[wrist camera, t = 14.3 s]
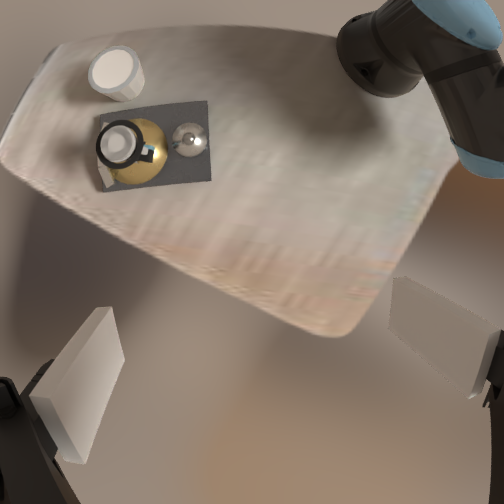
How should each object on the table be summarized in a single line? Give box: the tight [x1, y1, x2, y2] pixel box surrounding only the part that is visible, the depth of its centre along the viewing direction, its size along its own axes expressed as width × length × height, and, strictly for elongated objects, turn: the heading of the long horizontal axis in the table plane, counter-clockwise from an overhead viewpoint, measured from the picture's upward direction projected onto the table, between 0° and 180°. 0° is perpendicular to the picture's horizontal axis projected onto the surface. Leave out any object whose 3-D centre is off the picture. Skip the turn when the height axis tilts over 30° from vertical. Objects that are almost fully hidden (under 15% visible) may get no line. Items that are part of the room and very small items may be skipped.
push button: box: [96, 120, 155, 169], centre depth 33 cm, size 7×5×10 cm
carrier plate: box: [97, 101, 211, 192], centre depth 37 cm, size 15×11×4 cm
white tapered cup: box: [88, 45, 145, 102], centre depth 33 cm, size 7×7×7 cm
